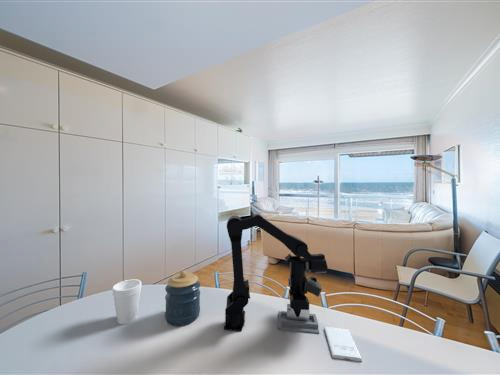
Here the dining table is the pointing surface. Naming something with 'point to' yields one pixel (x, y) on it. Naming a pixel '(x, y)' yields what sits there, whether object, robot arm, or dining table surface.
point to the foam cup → (127, 300)
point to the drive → (291, 315)
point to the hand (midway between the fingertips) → (297, 314)
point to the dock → (298, 323)
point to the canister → (182, 299)
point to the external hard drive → (342, 344)
